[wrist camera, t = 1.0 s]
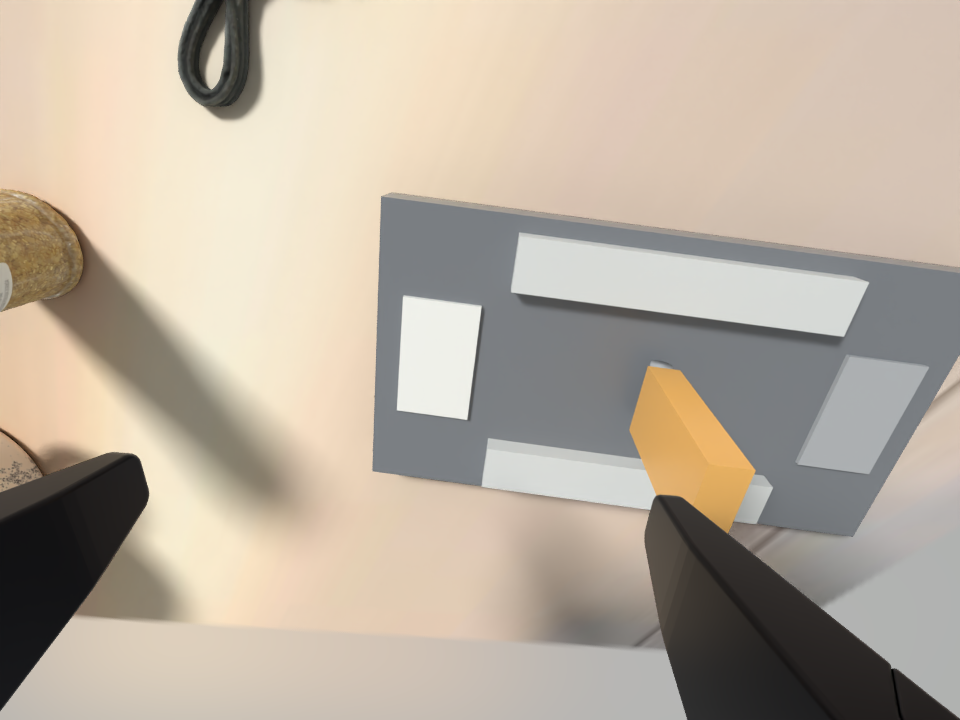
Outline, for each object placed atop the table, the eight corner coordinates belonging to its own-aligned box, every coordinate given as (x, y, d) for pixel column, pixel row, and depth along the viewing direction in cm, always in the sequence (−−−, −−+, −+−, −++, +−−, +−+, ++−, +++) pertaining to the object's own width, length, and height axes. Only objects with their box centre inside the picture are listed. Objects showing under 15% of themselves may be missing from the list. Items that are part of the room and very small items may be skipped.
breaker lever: (674, 362, 18) (755, 470, 12) (654, 424, 19) (719, 551, 13) (643, 358, 18) (708, 464, 12) (625, 420, 19) (677, 546, 13)
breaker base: (964, 268, 18) (1026, 284, 16) (831, 512, 23) (864, 550, 21) (391, 192, 18) (375, 198, 16) (381, 450, 23) (367, 482, 21)
